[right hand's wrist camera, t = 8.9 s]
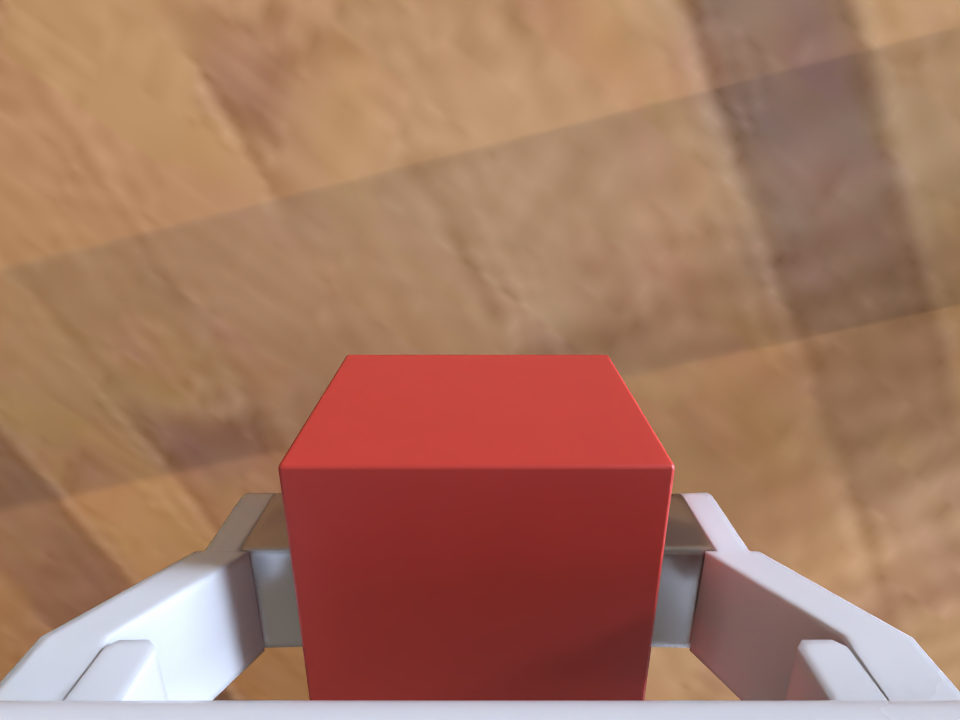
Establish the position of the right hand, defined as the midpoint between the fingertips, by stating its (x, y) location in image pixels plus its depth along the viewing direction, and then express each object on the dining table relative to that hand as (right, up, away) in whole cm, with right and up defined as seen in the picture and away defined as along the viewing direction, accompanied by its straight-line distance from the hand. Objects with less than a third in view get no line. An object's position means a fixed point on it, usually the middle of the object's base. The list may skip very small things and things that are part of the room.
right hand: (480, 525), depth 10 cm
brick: (0, +1, +2) cm, 2 cm away
